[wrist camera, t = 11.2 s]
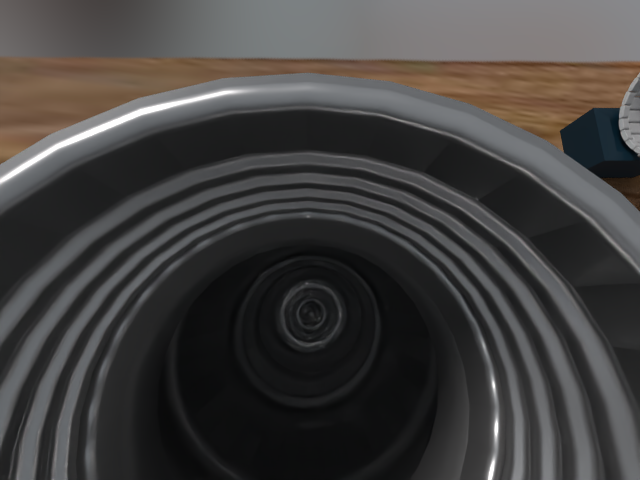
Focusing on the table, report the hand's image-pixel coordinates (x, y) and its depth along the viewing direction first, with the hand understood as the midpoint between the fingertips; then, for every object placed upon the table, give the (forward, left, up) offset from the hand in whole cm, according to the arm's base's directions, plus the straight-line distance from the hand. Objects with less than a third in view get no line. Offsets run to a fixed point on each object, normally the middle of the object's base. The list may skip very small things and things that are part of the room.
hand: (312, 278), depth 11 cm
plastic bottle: (0, -2, -10) cm, 11 cm away
